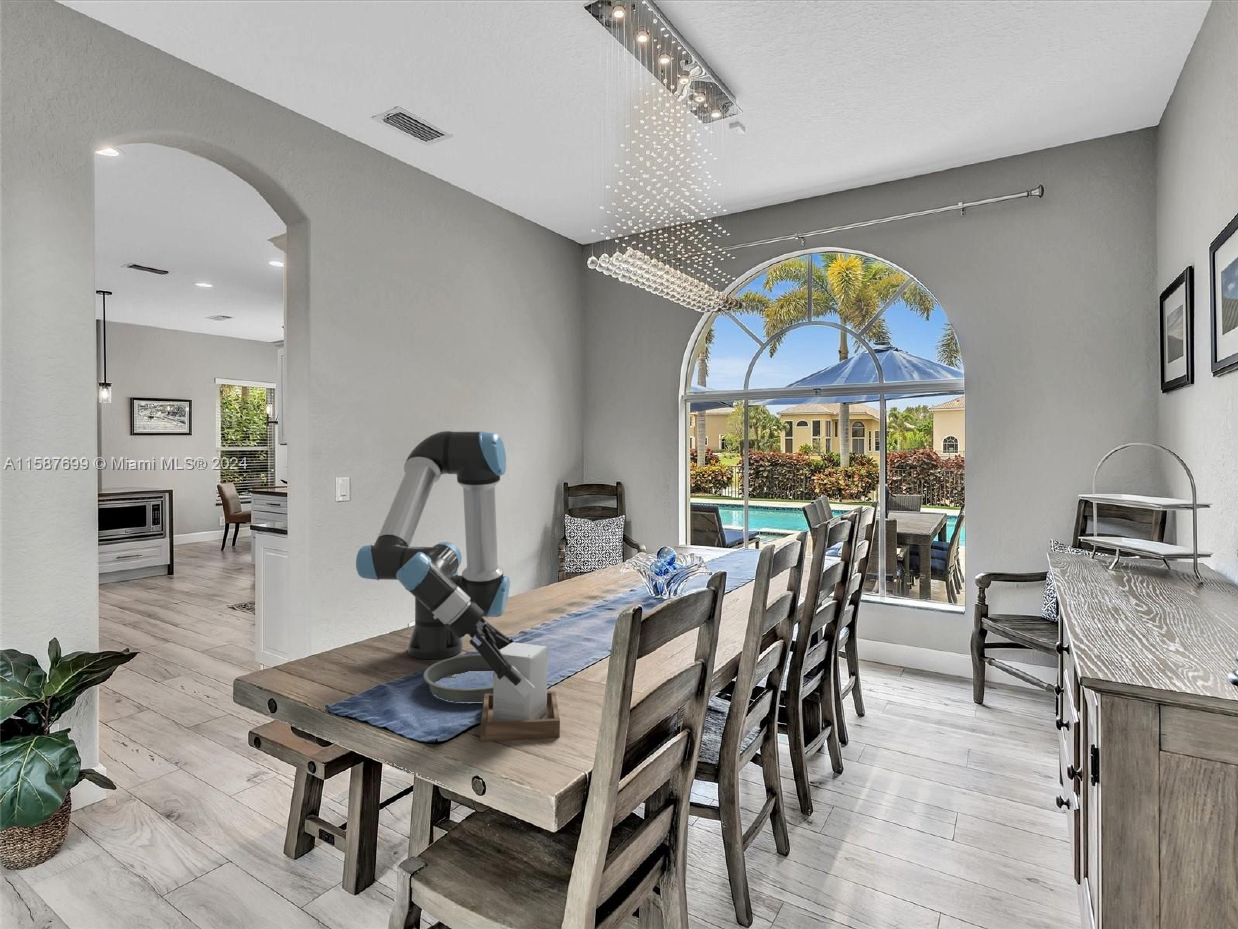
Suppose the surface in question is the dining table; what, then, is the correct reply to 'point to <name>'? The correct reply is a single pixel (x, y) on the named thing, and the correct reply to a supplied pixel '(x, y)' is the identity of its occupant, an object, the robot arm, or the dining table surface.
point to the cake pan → (455, 667)
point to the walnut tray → (520, 723)
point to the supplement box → (534, 669)
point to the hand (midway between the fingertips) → (529, 680)
